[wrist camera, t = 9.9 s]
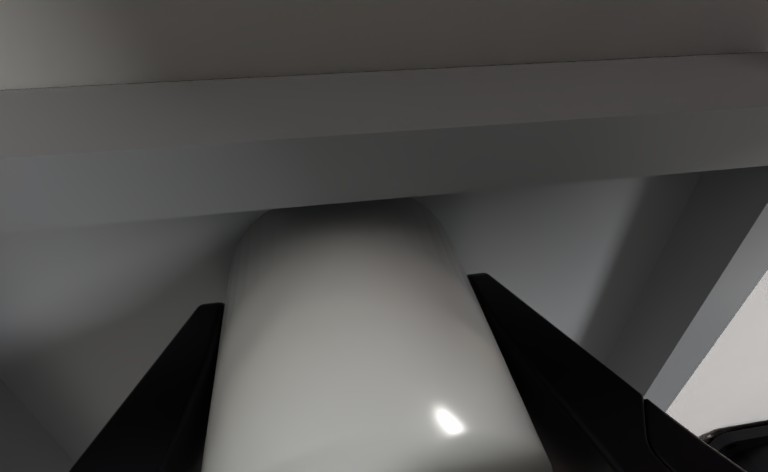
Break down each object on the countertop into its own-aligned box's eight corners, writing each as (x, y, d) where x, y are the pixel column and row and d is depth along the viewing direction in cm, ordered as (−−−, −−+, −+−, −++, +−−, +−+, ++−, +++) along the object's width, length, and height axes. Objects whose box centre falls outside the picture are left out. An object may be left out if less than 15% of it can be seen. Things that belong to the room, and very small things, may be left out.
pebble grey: (465, 175, 8) (598, 399, 5) (444, 337, 11) (517, 553, 7) (204, 196, 7) (135, 471, 4) (251, 362, 10) (233, 610, 7)
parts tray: (767, 51, 8) (891, 98, 7) (569, 439, 17) (601, 501, 15) (-257, 103, 6) (-459, 188, 5) (113, 515, 15) (91, 598, 13)
